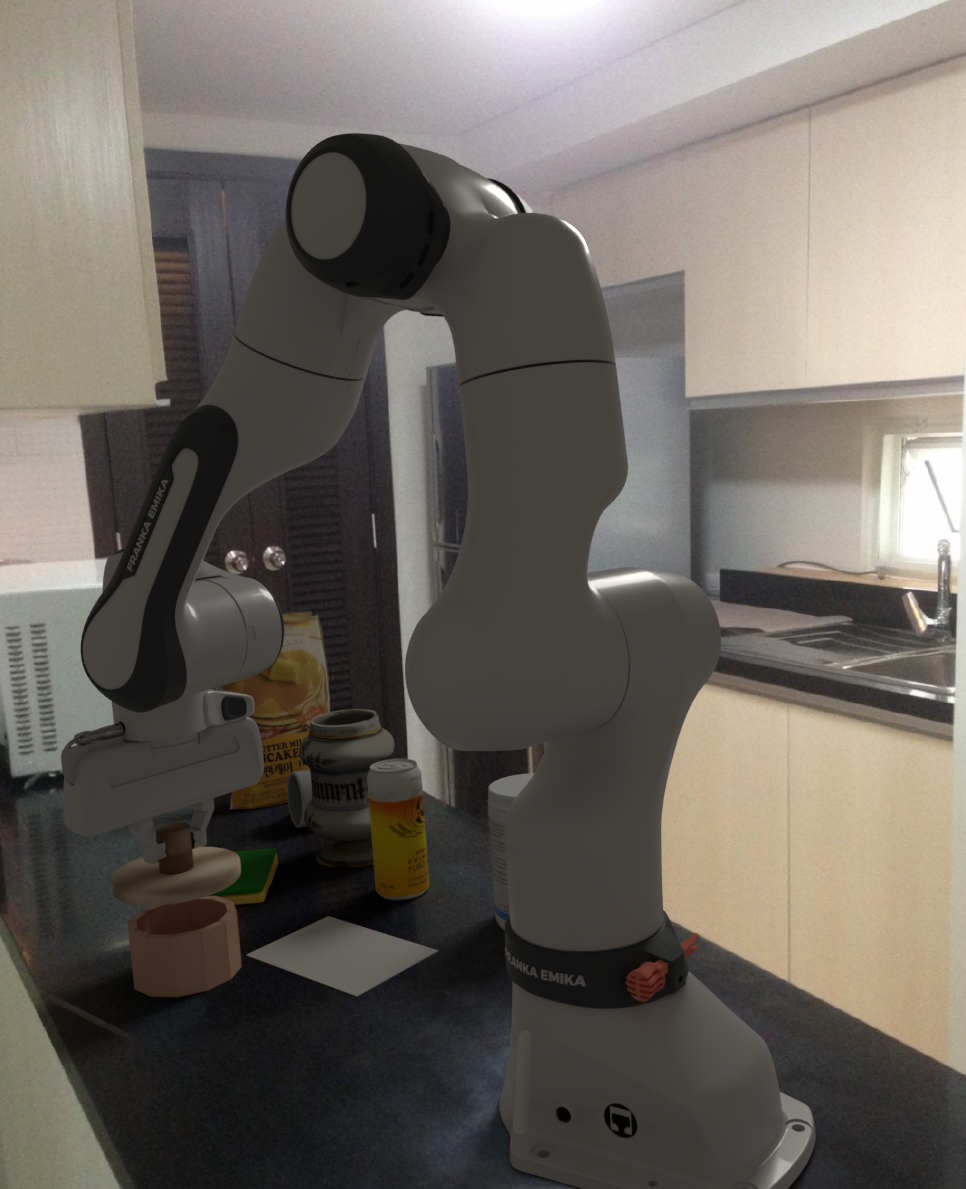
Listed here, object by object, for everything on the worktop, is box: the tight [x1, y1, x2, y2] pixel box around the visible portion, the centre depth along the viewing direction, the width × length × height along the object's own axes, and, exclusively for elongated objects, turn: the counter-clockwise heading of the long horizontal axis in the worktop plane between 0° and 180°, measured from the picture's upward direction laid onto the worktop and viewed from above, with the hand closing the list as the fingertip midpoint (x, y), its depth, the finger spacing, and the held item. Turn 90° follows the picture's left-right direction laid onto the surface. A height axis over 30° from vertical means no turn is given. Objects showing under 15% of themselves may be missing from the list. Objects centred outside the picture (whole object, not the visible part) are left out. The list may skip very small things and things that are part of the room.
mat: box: [245, 915, 439, 997], centre depth 107 cm, size 16×11×1 cm
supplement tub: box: [487, 772, 535, 931], centre depth 112 cm, size 10×10×15 cm
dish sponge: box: [209, 847, 279, 906], centre depth 129 cm, size 7×14×2 cm, turn 4°
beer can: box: [367, 758, 430, 901], centre depth 122 cm, size 6×6×15 cm
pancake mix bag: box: [218, 610, 331, 810], centre depth 162 cm, size 7×19×28 cm, turn 119°
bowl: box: [127, 896, 243, 998], centre depth 105 cm, size 10×10×6 cm
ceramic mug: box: [287, 770, 312, 829], centre depth 152 cm, size 11×8×8 cm
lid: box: [110, 822, 241, 906], centre depth 104 cm, size 12×12×5 cm
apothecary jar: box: [299, 708, 395, 869], centre depth 135 cm, size 12×12×18 cm
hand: (175, 853), depth 104 cm, fingers closed on lid, 3 cm apart
